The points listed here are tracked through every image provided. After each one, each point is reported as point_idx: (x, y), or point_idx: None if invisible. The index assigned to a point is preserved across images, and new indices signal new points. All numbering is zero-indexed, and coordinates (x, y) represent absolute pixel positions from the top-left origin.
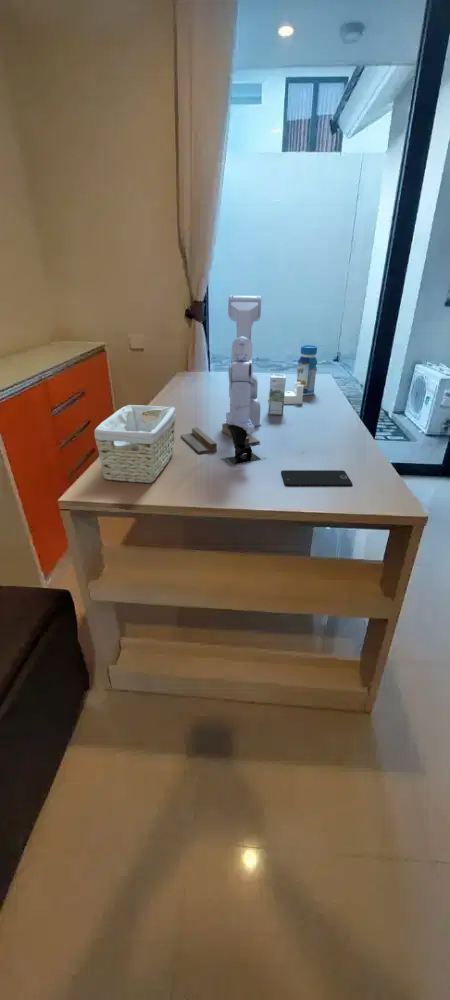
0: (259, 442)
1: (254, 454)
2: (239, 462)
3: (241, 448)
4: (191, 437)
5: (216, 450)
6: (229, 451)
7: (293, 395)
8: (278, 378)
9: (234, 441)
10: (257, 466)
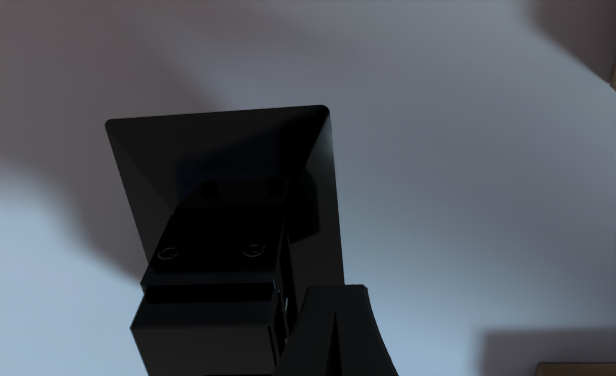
0: None
1: None
2: (140, 194)
3: (140, 342)
4: None
5: (613, 83)
6: (498, 215)
7: None
8: None
9: (341, 363)
10: (30, 295)
